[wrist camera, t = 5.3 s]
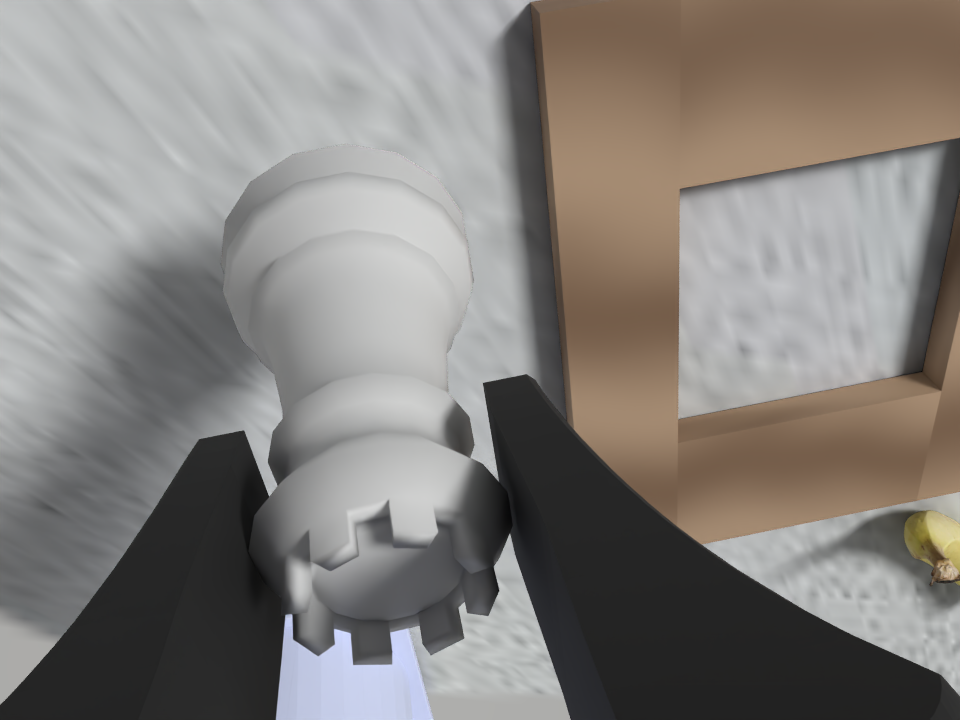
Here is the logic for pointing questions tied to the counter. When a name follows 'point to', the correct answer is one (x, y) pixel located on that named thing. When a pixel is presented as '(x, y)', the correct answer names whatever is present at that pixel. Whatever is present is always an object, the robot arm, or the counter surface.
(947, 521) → the banana
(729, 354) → the counter surface
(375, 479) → the rook chess piece
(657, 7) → the walnut socket board
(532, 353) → the counter surface
